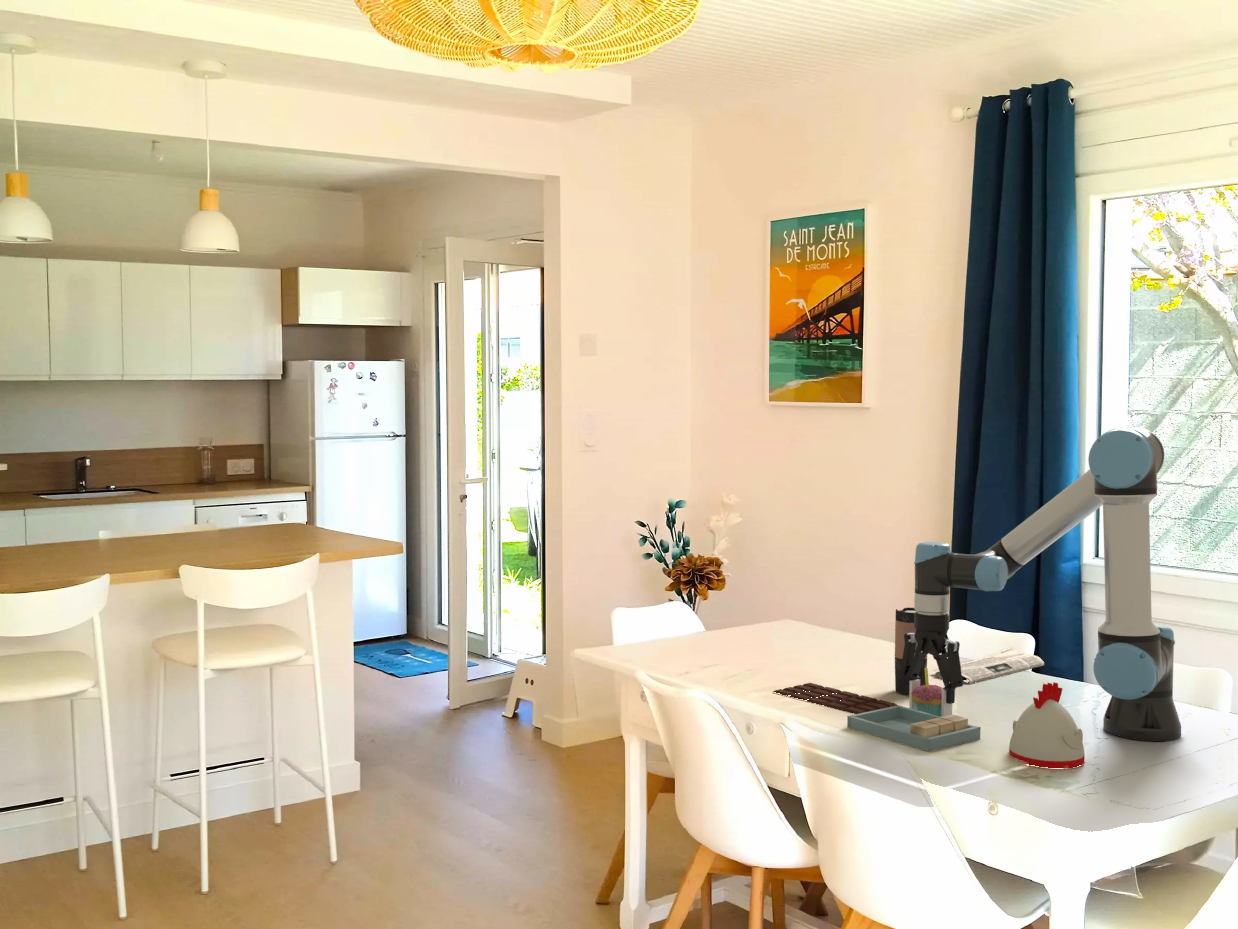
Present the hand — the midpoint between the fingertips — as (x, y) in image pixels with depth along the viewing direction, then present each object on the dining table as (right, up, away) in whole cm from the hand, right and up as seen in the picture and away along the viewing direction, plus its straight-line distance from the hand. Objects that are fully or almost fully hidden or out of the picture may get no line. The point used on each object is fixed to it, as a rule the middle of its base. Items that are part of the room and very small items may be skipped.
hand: (930, 713), depth 264 cm
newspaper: (+27, +1, +47) cm, 54 cm away
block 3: (0, -1, -18) cm, 18 cm away
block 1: (-7, -1, -23) cm, 25 cm away
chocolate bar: (-19, -1, +16) cm, 25 cm away
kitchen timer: (+15, -3, -31) cm, 35 cm away
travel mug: (+1, 0, +23) cm, 23 cm away
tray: (-8, -2, -15) cm, 17 cm away
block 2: (-4, -1, -21) cm, 21 cm away
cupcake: (0, -1, 0) cm, 1 cm away
